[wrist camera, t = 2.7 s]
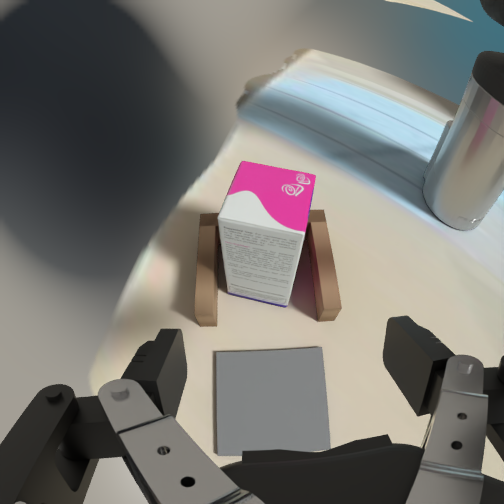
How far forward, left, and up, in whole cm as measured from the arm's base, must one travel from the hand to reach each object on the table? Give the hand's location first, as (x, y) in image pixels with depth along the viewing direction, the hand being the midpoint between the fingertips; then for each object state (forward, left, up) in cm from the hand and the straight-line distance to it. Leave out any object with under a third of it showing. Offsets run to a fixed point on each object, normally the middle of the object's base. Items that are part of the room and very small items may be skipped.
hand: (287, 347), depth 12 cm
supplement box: (-11, 0, -16) cm, 19 cm away
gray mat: (+1, 0, -15) cm, 15 cm away
